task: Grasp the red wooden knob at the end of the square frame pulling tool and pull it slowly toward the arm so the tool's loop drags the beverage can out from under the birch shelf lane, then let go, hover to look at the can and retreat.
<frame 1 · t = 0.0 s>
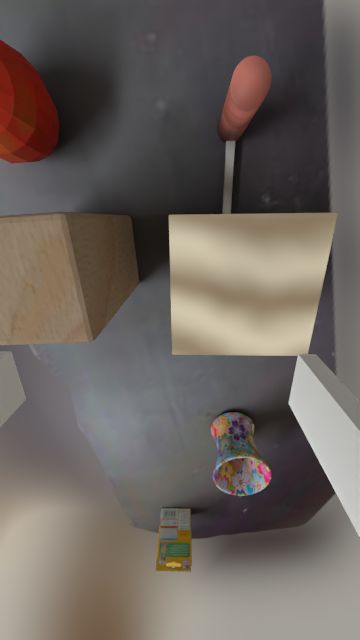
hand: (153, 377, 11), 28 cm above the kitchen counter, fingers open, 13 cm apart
crayon box: (176, 510, 60), on the kitchen counter
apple: (33, 124, 31), on the kitchen counter
shelf: (222, 262, 37), on the kitchen counter
mug: (233, 429, 50), on the kitchen counter
square frame pulling tool: (232, 214, 29), point 6 cm above the kitchen counter, slide at 0.0 cm
wooden block: (104, 253, 37), on the kitchen counter
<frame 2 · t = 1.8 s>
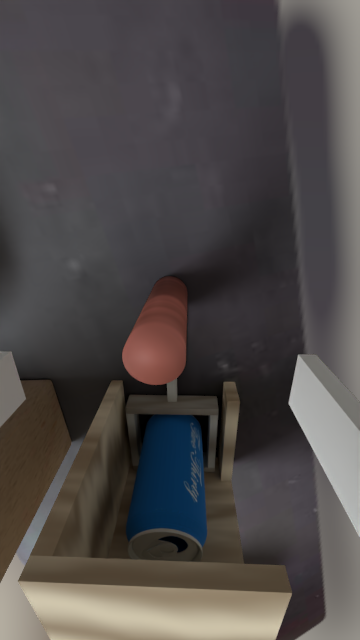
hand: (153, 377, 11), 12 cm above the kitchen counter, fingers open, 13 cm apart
shelf: (173, 425, 29), on the kitchen counter
square frame pulling tool: (168, 421, 21), point 6 cm above the kitchen counter, slide at 0.0 cm
beverage can: (174, 424, 29), resting in square frame pulling tool
wooden block: (24, 411, 29), on the kitchen counter
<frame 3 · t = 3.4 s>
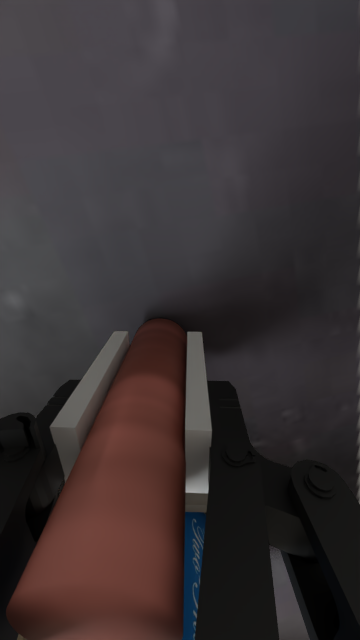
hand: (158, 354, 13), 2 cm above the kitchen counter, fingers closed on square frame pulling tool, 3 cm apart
square frame pulling tool: (157, 551, 13), point 6 cm above the kitchen counter, slide at 0.0 cm, touching gripper
beverage can: (169, 507, 21), resting in square frame pulling tool
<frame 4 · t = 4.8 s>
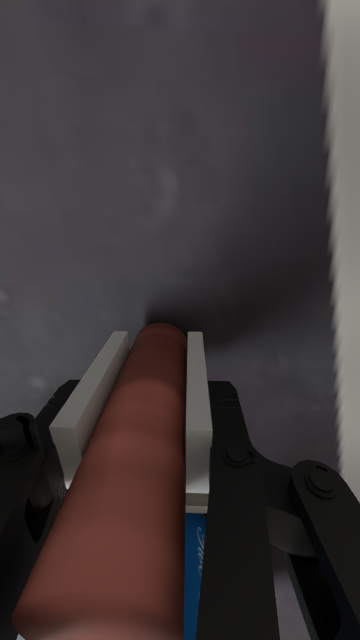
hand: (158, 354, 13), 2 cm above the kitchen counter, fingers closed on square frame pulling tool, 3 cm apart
square frame pulling tool: (158, 552, 13), point 6 cm above the kitchen counter, slide at 5.6 cm, touching beverage can, gripper
beverage can: (172, 514, 22), resting in square frame pulling tool
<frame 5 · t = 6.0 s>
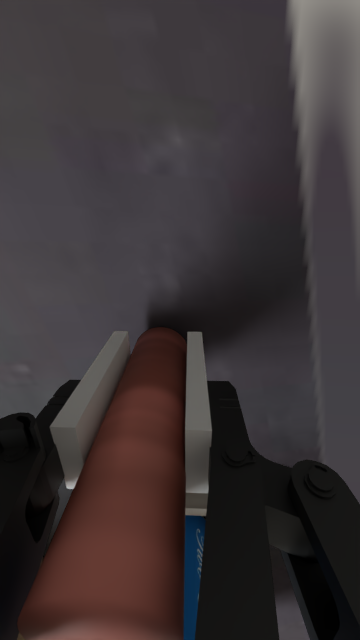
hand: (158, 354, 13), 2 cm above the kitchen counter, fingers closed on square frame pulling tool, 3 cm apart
square frame pulling tool: (158, 555, 14), point 6 cm above the kitchen counter, slide at 10.3 cm, touching beverage can, gripper
beverage can: (172, 515, 22), resting in square frame pulling tool
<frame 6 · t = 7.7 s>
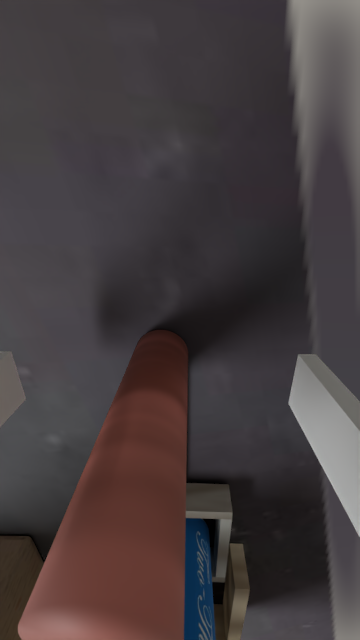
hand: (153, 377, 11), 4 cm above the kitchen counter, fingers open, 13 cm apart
shelf: (172, 577, 25), on the kitchen counter
square frame pulling tool: (158, 558, 14), point 6 cm above the kitchen counter, slide at 10.3 cm
beverage can: (172, 518, 22), resting in square frame pulling tool
wooden block: (1, 558, 26), on the kitchen counter
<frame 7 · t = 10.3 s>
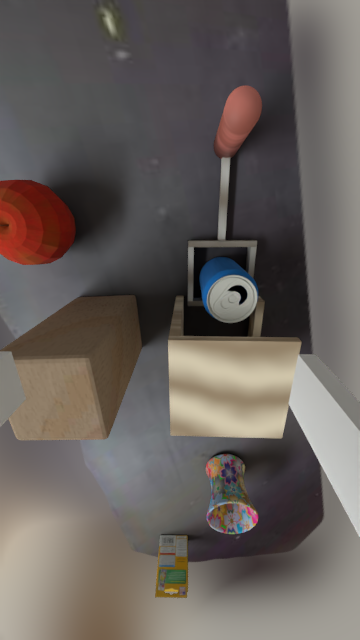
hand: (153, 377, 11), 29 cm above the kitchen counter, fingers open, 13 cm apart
crayon box: (174, 537, 65), on the kitchen counter
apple: (53, 223, 37), on the kitchen counter
shelf: (215, 332, 42), on the kitchen counter
mug: (226, 467, 55), on the kitchen counter
square frame pulling tool: (226, 227, 30), point 6 cm above the kitchen counter, slide at 10.3 cm
beverage can: (219, 276, 39), resting in square frame pulling tool
wooden block: (111, 322, 42), on the kitchen counter
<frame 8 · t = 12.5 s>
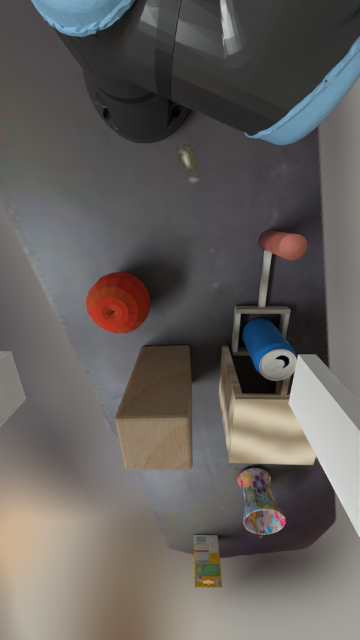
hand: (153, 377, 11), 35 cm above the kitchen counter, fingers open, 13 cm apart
crayon box: (205, 536, 76), on the kitchen counter
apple: (128, 292, 46), on the kitchen counter
shelf: (252, 372, 52), on the kitchen counter
mug: (254, 478, 65), on the kitchen counter
square frame pulling tool: (270, 306, 40), point 6 cm above the kitchen counter, slide at 10.3 cm
beverage can: (257, 331, 48), resting in square frame pulling tool
wooden block: (167, 365, 52), on the kitchen counter
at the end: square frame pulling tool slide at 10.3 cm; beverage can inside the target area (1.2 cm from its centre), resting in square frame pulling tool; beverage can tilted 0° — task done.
